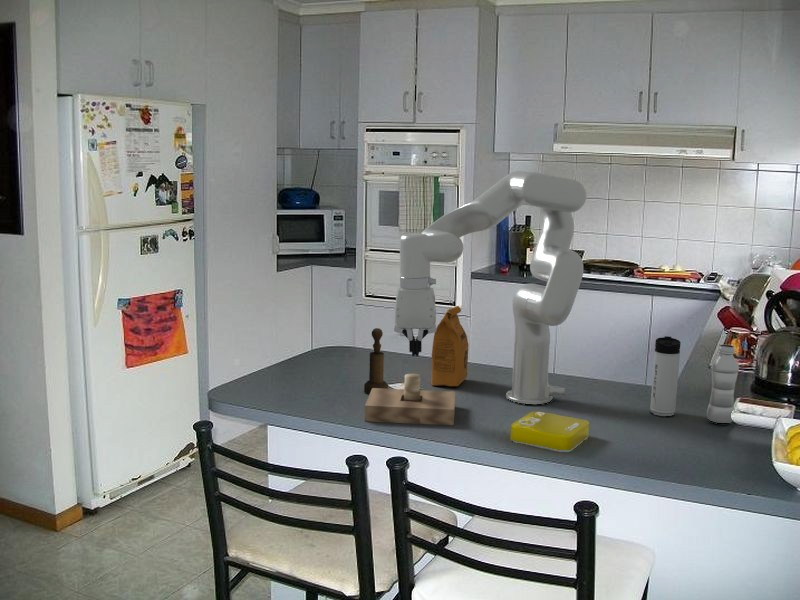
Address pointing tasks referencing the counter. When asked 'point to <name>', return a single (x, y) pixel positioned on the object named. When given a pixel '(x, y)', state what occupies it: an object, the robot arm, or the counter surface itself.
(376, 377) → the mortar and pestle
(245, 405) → the counter surface
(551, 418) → the element tile
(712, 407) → the plastic bottle
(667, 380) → the travel mug
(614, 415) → the counter surface
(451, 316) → the coffee package
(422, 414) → the board
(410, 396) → the peg
